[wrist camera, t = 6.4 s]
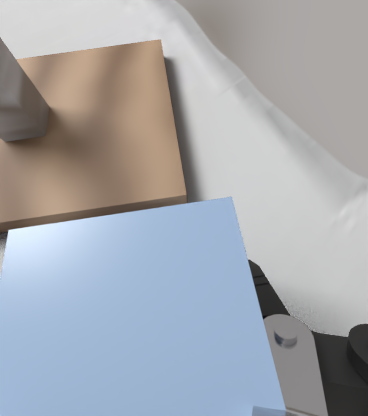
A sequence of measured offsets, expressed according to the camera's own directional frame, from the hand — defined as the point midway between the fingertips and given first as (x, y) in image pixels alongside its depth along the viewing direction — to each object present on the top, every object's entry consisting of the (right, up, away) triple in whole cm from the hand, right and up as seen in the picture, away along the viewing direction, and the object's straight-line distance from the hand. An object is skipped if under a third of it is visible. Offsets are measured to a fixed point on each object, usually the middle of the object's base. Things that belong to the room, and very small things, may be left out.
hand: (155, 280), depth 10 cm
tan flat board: (-11, +9, +9) cm, 17 cm away
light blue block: (0, -3, +3) cm, 5 cm away
